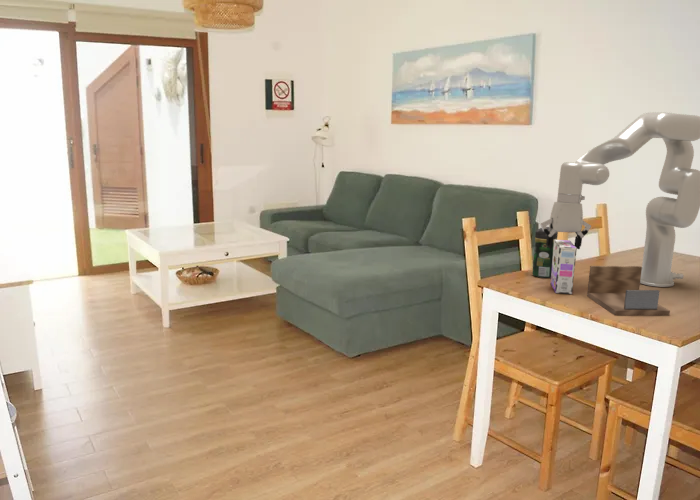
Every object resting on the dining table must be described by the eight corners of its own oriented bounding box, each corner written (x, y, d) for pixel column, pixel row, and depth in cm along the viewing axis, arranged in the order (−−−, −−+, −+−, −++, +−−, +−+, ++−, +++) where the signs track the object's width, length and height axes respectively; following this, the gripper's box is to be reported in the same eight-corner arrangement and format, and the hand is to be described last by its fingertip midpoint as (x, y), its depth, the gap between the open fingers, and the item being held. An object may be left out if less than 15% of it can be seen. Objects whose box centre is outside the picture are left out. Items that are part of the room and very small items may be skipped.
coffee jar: (534, 271, 232) (538, 224, 228) (555, 273, 229) (559, 226, 225) (529, 276, 224) (533, 228, 220) (551, 279, 220) (556, 230, 216)
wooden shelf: (636, 296, 201) (640, 266, 198) (669, 315, 181) (674, 282, 179) (587, 296, 200) (590, 265, 198) (614, 315, 181) (618, 282, 178)
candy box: (572, 294, 201) (577, 247, 198) (554, 293, 203) (558, 246, 199) (566, 284, 215) (570, 239, 211) (549, 282, 216) (553, 238, 212)
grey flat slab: (655, 308, 182) (658, 290, 181) (657, 309, 182) (659, 290, 180) (623, 308, 182) (626, 290, 181) (625, 309, 181) (627, 290, 180)
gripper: (589, 198, 206) (583, 246, 209) (540, 196, 205) (535, 245, 209) (598, 201, 198) (592, 251, 202) (547, 199, 198) (542, 249, 201)
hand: (563, 248), depth 205 cm, fingers open, 9 cm apart
